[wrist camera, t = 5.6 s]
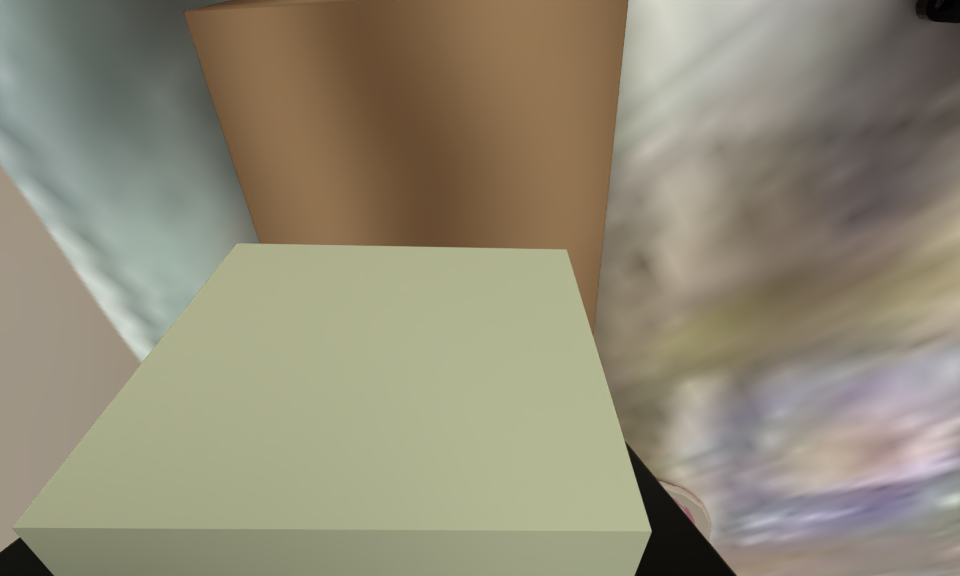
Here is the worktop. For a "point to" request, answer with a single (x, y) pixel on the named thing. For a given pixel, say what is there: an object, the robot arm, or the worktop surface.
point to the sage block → (357, 428)
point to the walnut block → (421, 120)
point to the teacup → (690, 508)
